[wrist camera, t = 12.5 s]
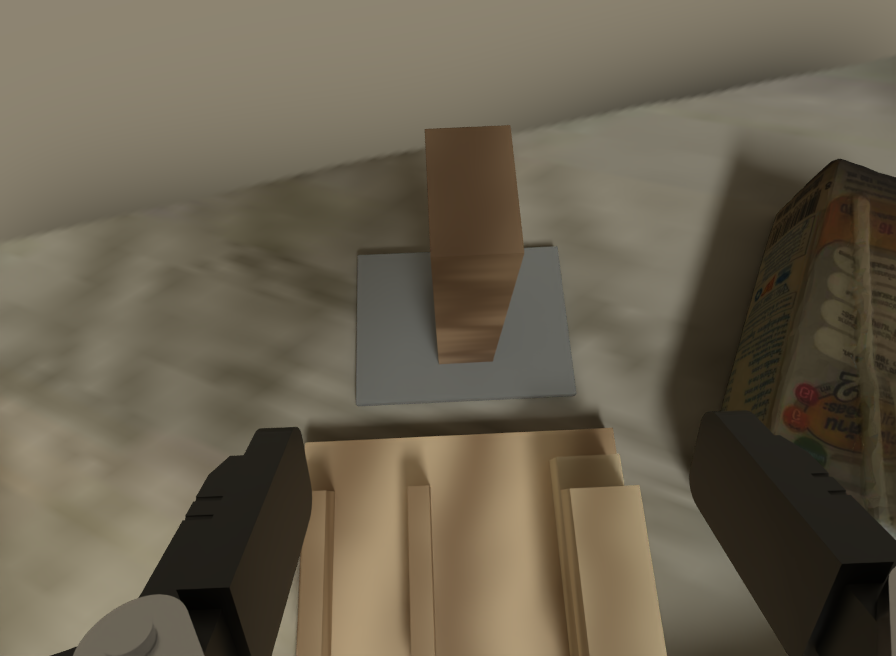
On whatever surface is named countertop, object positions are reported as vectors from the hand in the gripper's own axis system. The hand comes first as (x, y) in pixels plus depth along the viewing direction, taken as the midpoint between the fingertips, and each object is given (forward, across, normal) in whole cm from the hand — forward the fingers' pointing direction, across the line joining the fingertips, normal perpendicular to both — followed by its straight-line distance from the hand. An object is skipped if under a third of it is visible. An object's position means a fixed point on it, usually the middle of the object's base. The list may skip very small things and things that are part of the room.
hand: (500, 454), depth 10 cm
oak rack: (+10, 0, +15) cm, 18 cm away
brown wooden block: (+18, 0, +6) cm, 19 cm away
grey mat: (+19, 0, +6) cm, 20 cm away
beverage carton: (+17, -19, +9) cm, 27 cm away
